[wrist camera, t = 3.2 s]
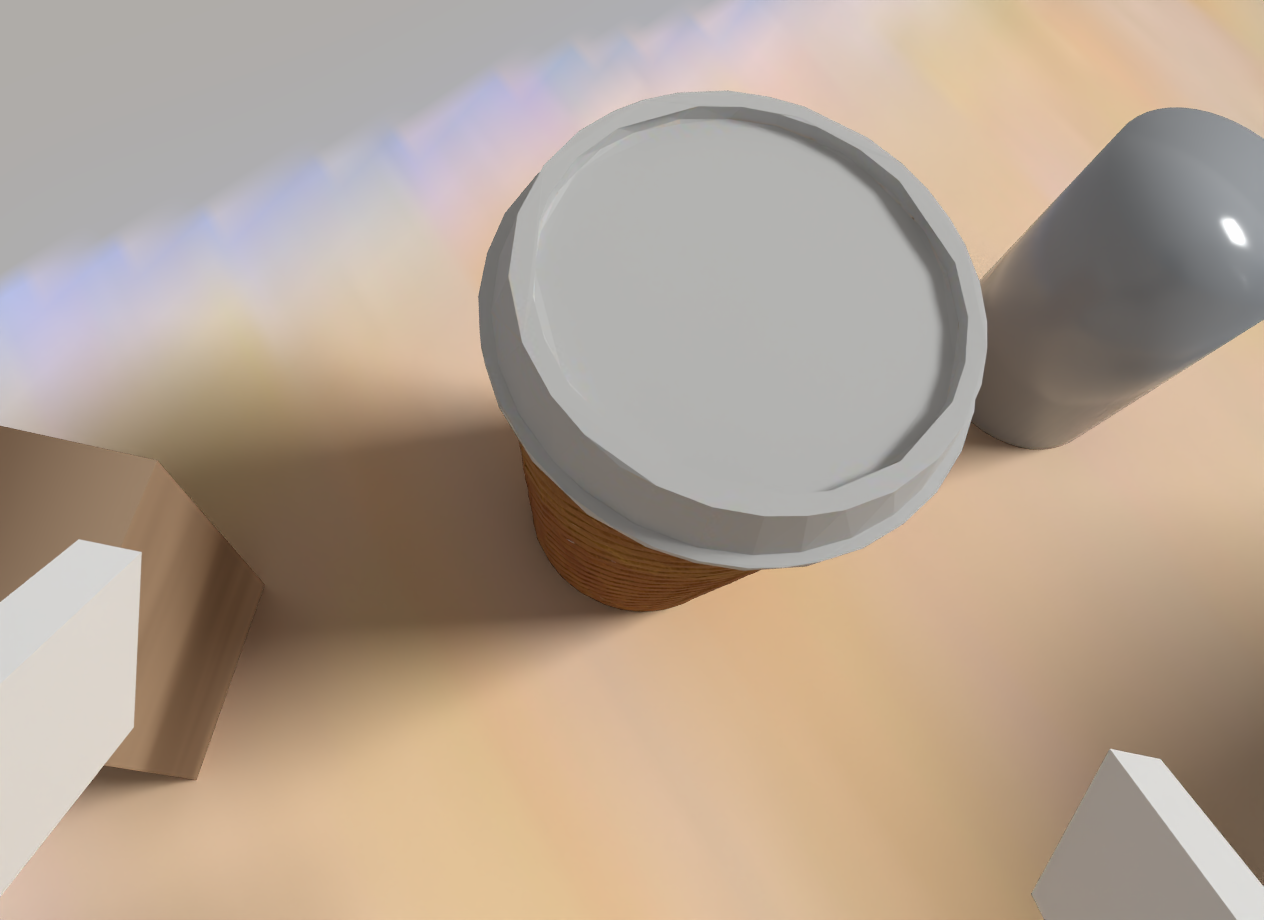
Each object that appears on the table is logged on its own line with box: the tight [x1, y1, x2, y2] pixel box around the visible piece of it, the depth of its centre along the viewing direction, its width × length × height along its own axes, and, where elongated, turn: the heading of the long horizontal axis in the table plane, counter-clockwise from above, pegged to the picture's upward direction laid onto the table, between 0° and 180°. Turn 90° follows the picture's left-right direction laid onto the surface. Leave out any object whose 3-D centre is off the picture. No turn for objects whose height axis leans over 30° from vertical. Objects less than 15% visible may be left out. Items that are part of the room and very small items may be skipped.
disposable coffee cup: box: [478, 91, 987, 611], centre depth 21 cm, size 10×10×12 cm
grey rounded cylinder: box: [971, 108, 1264, 449], centre depth 27 cm, size 6×6×9 cm
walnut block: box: [0, 426, 264, 780], centre depth 19 cm, size 5×5×9 cm
